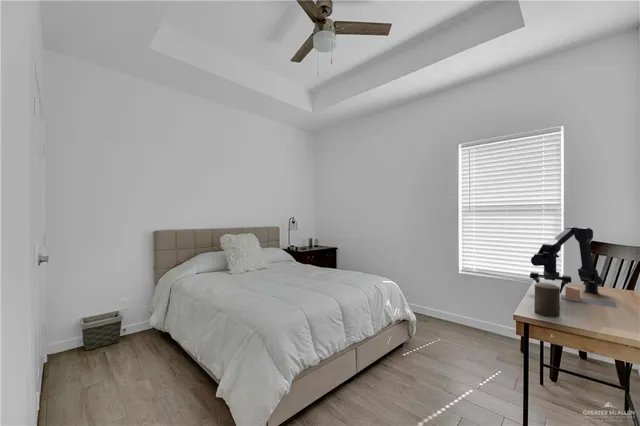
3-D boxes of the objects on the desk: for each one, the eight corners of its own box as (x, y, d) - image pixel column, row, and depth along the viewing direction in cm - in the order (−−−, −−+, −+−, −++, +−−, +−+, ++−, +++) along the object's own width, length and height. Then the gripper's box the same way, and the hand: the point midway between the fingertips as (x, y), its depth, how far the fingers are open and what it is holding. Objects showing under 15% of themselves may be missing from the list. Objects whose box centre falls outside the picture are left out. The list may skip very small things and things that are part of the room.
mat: (561, 295, 170) (560, 294, 170) (614, 302, 156) (614, 301, 156) (560, 300, 161) (560, 299, 161) (617, 308, 147) (617, 307, 147)
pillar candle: (556, 319, 133) (556, 286, 133) (531, 313, 141) (531, 282, 141) (562, 314, 139) (562, 283, 139) (538, 309, 147) (538, 279, 147)
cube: (565, 296, 166) (565, 285, 166) (579, 298, 162) (579, 287, 162) (565, 298, 162) (565, 288, 162) (579, 301, 158) (579, 290, 158)
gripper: (529, 265, 168) (529, 292, 168) (571, 269, 156) (571, 298, 156) (530, 262, 177) (530, 288, 177) (571, 266, 165) (571, 293, 165)
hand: (550, 291), depth 168 cm, fingers open, 9 cm apart
